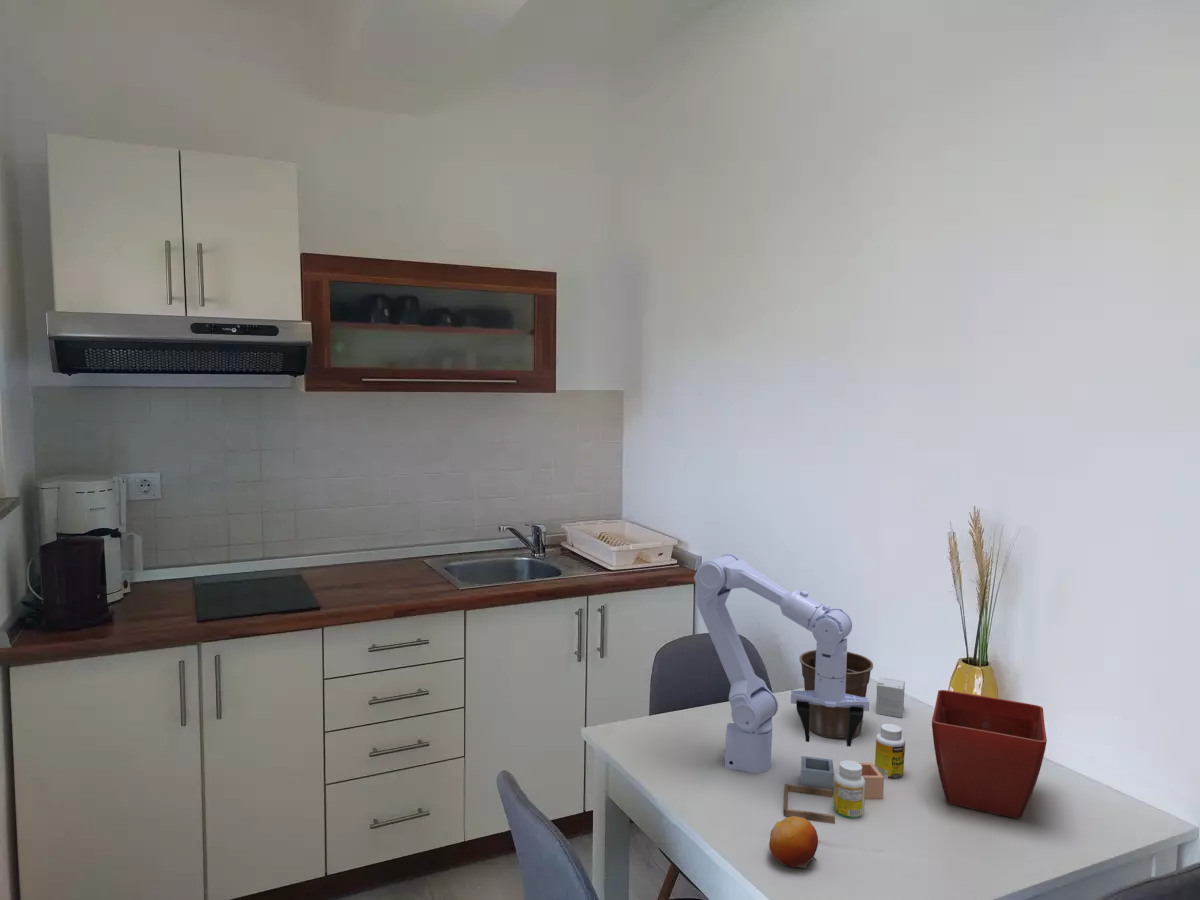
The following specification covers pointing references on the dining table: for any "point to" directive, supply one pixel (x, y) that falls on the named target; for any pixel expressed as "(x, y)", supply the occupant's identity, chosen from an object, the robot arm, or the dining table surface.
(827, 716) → the plant pot
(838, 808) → the supplement bottle
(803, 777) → the cup slate
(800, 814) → the corral
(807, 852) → the fruit
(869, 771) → the peach square planter
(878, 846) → the dining table surface
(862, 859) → the dining table surface
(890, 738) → the supplement bottle
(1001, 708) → the plant pot
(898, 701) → the skincare box
